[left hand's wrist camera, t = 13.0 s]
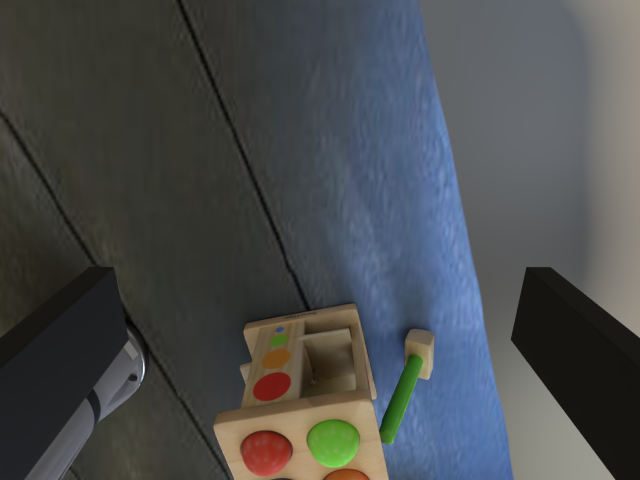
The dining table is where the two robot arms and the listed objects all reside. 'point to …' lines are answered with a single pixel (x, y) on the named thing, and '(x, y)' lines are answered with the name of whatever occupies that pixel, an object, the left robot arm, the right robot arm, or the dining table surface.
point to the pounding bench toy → (315, 400)
